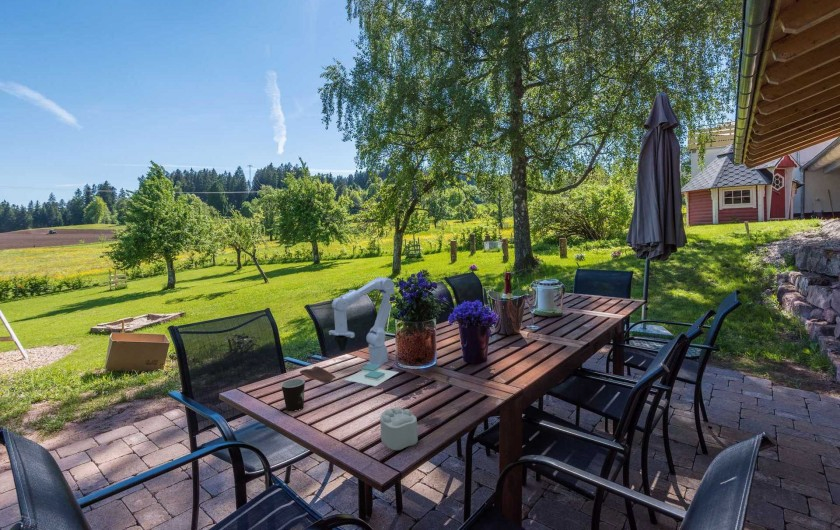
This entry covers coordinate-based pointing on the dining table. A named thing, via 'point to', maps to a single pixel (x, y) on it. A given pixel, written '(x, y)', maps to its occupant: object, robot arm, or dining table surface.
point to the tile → (374, 375)
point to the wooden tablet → (318, 374)
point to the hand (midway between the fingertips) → (342, 350)
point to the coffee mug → (293, 394)
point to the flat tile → (370, 368)
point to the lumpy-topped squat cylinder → (398, 428)
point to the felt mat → (360, 378)
